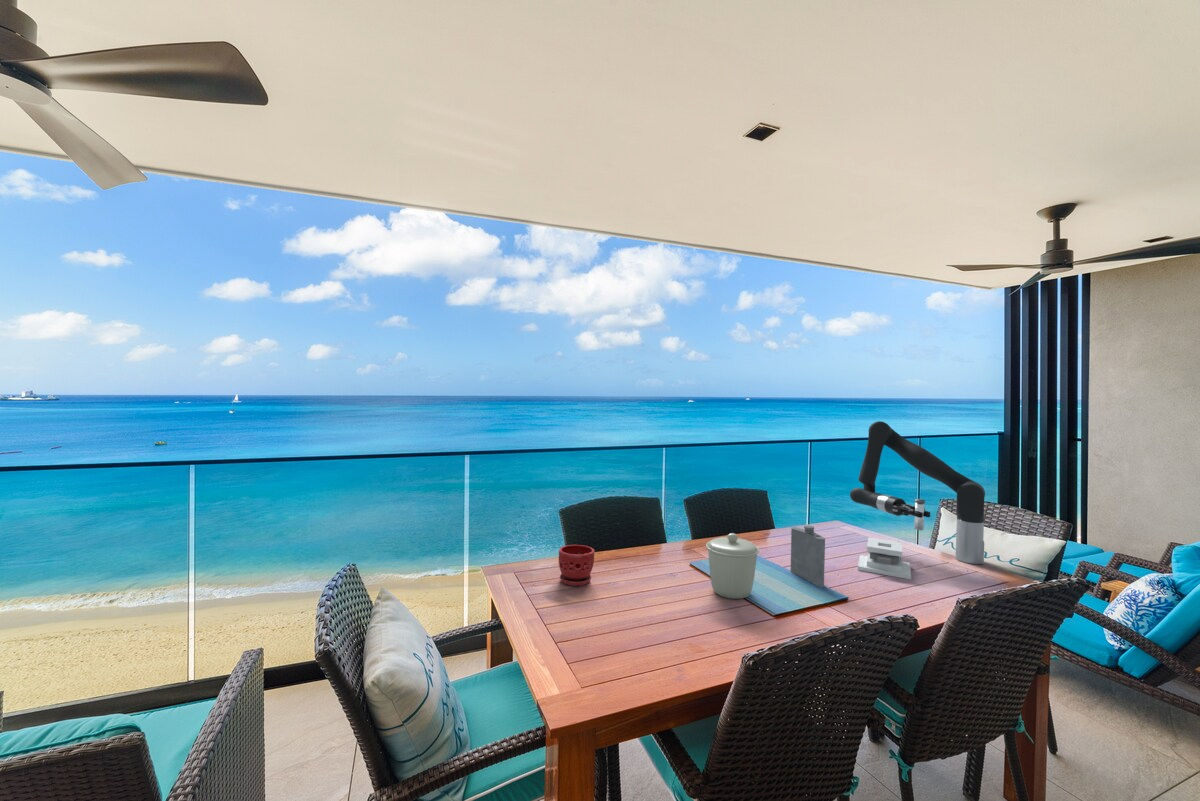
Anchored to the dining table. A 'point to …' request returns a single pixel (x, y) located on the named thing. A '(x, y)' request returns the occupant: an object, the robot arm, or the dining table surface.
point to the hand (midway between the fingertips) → (925, 515)
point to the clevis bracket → (884, 559)
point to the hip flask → (808, 554)
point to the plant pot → (576, 564)
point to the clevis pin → (919, 507)
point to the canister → (732, 566)
